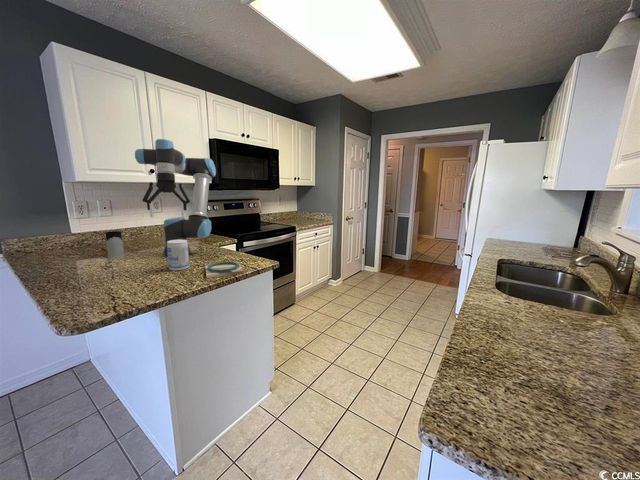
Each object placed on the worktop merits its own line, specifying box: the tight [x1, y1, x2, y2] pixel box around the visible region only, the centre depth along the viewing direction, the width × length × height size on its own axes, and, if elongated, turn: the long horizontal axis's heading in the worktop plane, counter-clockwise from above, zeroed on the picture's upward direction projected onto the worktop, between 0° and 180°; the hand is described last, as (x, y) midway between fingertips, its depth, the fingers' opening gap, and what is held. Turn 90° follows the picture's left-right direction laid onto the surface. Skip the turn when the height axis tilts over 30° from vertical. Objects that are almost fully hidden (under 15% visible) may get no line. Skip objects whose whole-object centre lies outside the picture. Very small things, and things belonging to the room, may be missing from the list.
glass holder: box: [104, 230, 126, 259], centre depth 161 cm, size 9×14×15 cm, turn 41°
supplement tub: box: [167, 239, 190, 272], centre depth 137 cm, size 10×10×15 cm
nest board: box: [204, 261, 245, 279], centre depth 135 cm, size 18×17×3 cm
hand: (167, 217), depth 129 cm, fingers open, 13 cm apart
